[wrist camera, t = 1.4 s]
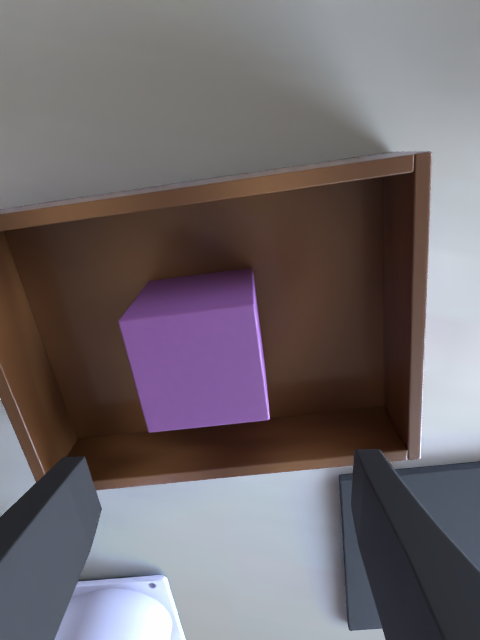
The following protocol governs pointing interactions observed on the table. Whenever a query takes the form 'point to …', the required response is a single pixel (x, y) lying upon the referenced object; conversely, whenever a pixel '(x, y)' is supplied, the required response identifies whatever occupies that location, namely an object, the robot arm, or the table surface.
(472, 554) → the mat
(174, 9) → the table surface
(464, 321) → the table surface
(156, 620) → the robot arm
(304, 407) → the brown wooden tray
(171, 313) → the block
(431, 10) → the table surface
